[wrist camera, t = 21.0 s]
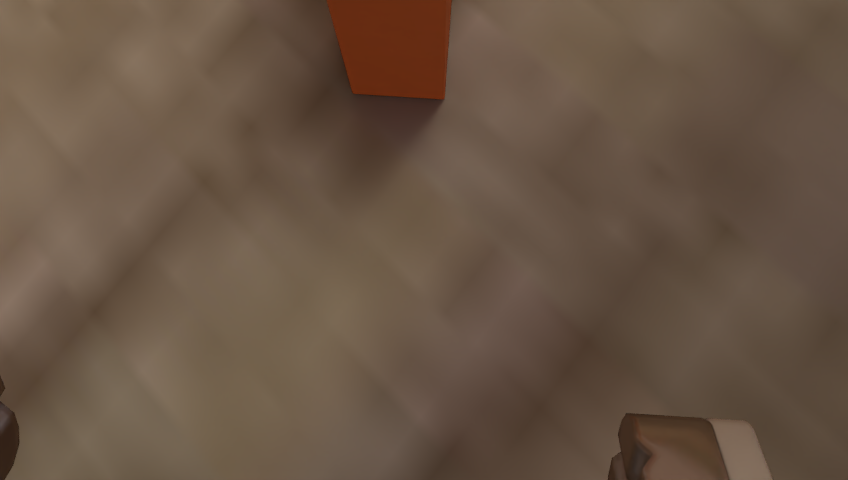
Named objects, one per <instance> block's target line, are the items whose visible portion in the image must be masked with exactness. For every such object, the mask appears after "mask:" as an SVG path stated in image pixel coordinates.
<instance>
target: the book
mask: <svg viewBox="0 0 848 480" xmlns="http://www.w3.org/2000/svg"><path fill="white" fill-rule="evenodd" d="M451 2H452V0H327V3H328V7H329V11H330V14H331V18H332V21H333V25H334V29H335V32H336V36H337V39H338V43H339V46H340V50H341V54H342V57H343V61H344V64H345V68H346V71H347V75H348V79H349V82H350V86H351V89H352V93H353V94H365V95H381V96H397V97H413V98H429V99H444V98H445V86H446V72H447V58H448V44H449V30H450V16H451Z"/></svg>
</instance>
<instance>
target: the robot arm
mask: <svg viewBox="0 0 848 480" xmlns="http://www.w3.org/2000/svg"><path fill="white" fill-rule="evenodd" d="M4 390H5V386H4V383H3V381H2V379H1V376H0V396H1V395H2V393H3V392H4ZM618 436H619V442H620V448H621V452H620V453H618V454H617V455H615V456H614V457H613V458H612V460H611V465H610V470H609V474H608V480H773V478H772V475H771V473H770V470H769V467H768V465H767V462H766V460H765V457H764V455H763V452H762V450H761V447H760V444H759V442H758V439H757V437H756V434H755V432H754V429H753V427H752V426H751V425H750V424H749V423H748V422H747V421H743V420H727V419H711V418H706V419H703V418H695V417H680V416H664V415H649V414H633V413H626V414H625V416H624V417H623V419H622V421H621V425H620V429H619V433H618ZM18 446H19V426H18V423H17V420H16V417H15V414H14V412H13V411H11V410H10V409H9V408H8V407H7V406H6V405H4V404H3V403H2V402H1V401H0V480H5V478H6V476H7V475H8V473H9V471H10V470H11V468H12V466H13V464H14V461H15V457H16V454H17V450H18Z"/></svg>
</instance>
